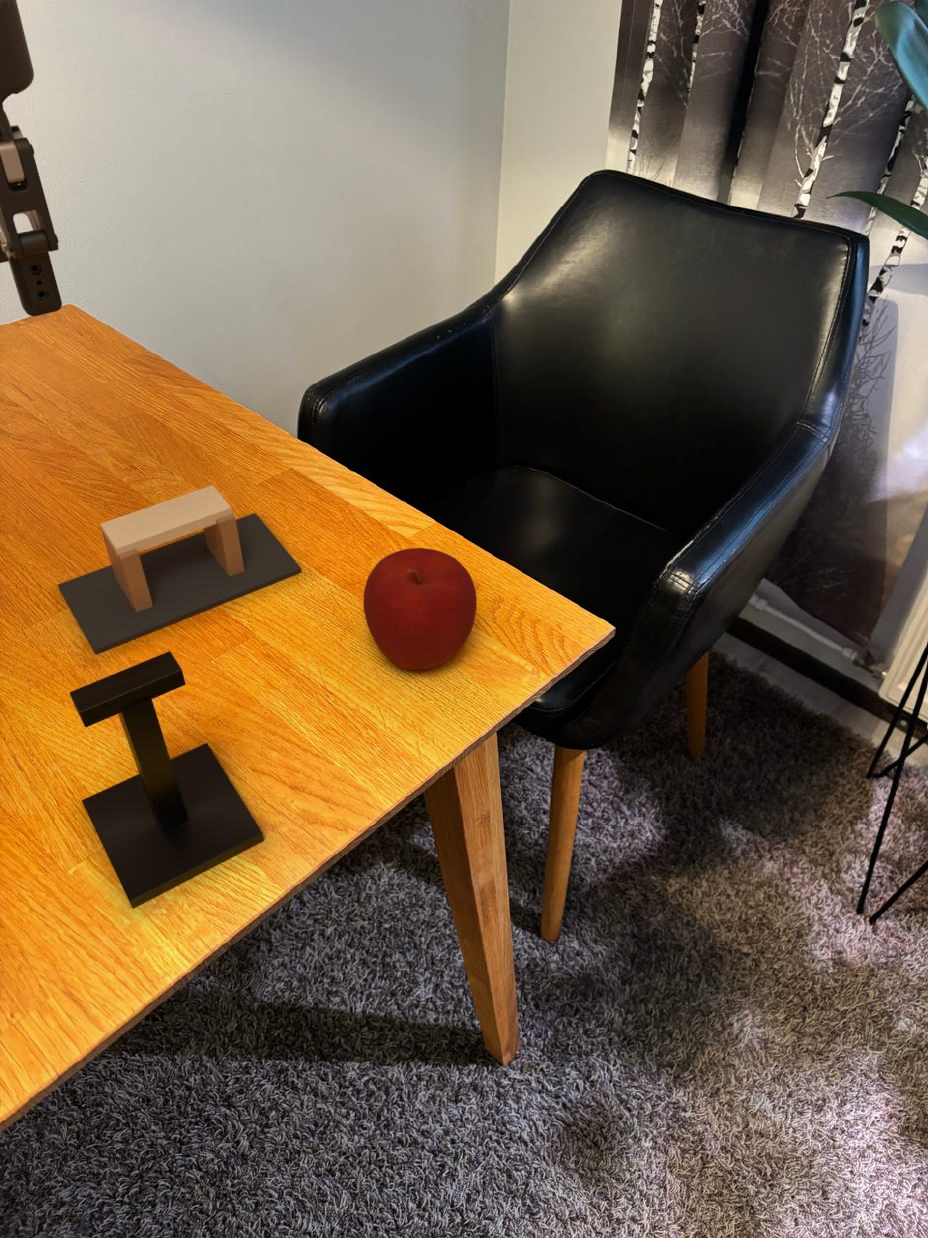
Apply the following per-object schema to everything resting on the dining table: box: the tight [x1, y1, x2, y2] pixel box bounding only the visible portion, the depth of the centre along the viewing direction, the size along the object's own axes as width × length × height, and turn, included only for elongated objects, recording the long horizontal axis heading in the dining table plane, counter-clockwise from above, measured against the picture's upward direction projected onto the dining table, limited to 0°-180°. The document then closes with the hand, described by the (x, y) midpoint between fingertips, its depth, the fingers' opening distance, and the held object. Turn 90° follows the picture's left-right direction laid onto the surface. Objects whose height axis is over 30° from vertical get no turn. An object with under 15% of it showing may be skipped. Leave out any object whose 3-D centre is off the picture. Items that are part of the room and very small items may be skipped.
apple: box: [363, 547, 478, 671], centre depth 82 cm, size 10×10×10 cm
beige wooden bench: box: [99, 484, 245, 613], centre depth 88 cm, size 11×5×7 cm, turn 124°
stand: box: [69, 650, 265, 909], centre depth 66 cm, size 10×10×16 cm
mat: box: [57, 512, 302, 655], centre depth 91 cm, size 20×10×1 cm, turn 124°
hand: (23, 284), depth 62 cm, fingers open, 8 cm apart
